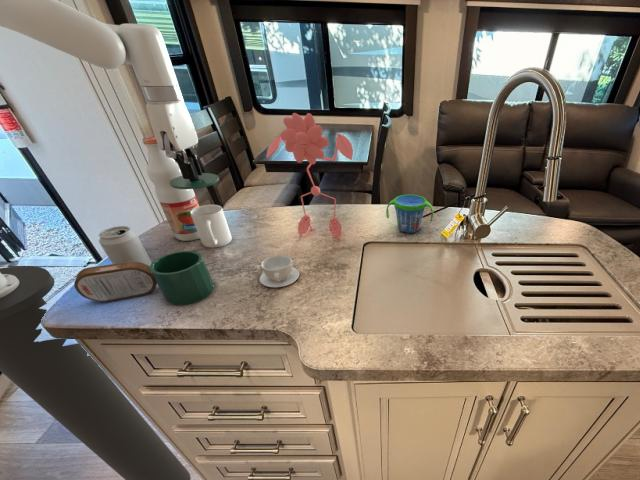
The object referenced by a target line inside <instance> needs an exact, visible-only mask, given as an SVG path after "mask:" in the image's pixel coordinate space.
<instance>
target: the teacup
mask: <svg viewBox="0 0 640 480" xmlns="http://www.w3.org/2000/svg"><path fill="white" fill-rule="evenodd" d="M260 267H261V269H262V271H263V272H262V273H261V274H260V276H259V282H260V284H262V285H263V286H266V287H268V288H281V287H286V286H289V285H291V284H293V283H294V282H296V281H297V280H298V279H299V278H300V271H299V270H298V269H297V268H296V267H293V261H292V259H291V257H289V256H287V255H283V254H276V255H272V256H269V257H266V258H265V259H262V261H261V263H260Z"/></svg>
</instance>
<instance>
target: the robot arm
mask: <svg viewBox="0 0 640 480" xmlns="http://www.w3.org/2000/svg"><path fill="white" fill-rule="evenodd" d="M0 27H2V28H4V29H8V30H11V31H14V32H17V33H19V34H22V35H23V36H26V37H29V38H31V39H33V40H36V41H38V42H39V43H42V44H45V45H47V46H49V47H51V48H54V49H55V50H58V51H61V52H62V53H65V54H67V55H70V56H72V57H75V58H77V59H79V60H82V61H84V62H86V63H88V64H91V65H93V66H95V67H97V68H101V69H105V70H115V69H119V68H120V67H121V66H128V65H129V66H130V65H131V67H132V70H133V72H134V74H135V77H136V79H137V82H138V85H139V87H140V90H141V92H142V95H143V97H144V100H145V102H146V103H145V107H146V112H147V116H148V119H149V123H150V126H151V129H152V132H153V136H155V138H156V141H157V143H158V146H159V148H160V149H161V150H163V151H165V153H166V156H167V157H170V158H173V159H174V160H175V162H176V163H178V166H179V168H180V171H181V174H182V176H183V178H184V179H196V175H195V172H194V169H193V167H192V164H191V163H189V160H188V158H187V157H192V159H193V162H194V165H195V167H196V170H197V173H198V175H202V173H203V170H202V167H201V165H200V162H199V156H198V153H197V151H198V150H197V149H198V147H199V137H198V133H197V130H196V128H195V125H194V122H193V119H192V117H191V114H190V112H189V110H188V108H187V106H186V103H185V100H184V97H183V94H182V90H181V87H180V84H179V81H178V78H177V76H176V72H175V69H174V67H173V64H172V60H171V58H170V55H169V51H168V49H167V45H166V43H165V40H164V37H163V35H162V33H161V31H160V30H159V28H157V26H154V25H152V24H146V23H121V24H112V23H106V22H102V21H100V20H98V19H96V18H94V17H92V16H90V15H88V14H86V13H84V12H82V11H81V10H78V9H76V8H74V7H72V6H70V5H68V4H66V3H64V2H62V1H60V0H0ZM18 285H19V280H18V279H17V278H16V277H15V276H13V275H9V274H1V273H0V298H2V297H4V296H6V295H8V294H9V293H11V292H12V291H14V290H15V289H16V288H17V287H18Z"/></svg>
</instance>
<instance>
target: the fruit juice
mask: <svg viewBox="0 0 640 480" xmlns="http://www.w3.org/2000/svg"><path fill="white" fill-rule="evenodd" d="M141 140H142V143H143V145H144V146H145V147H146V149H147V156H148V163H147V166H146V174H147V176H148V178H149V180H150V181H151V182H152V184H153V185H154V193H155V195H156V198H157V201H158V203H159V205H160V207H161V209H162V211H163V213H164V216H165V218H166V220H167V223H168V225H169V227H170V229H171V231H172V234H173V236H174V237H175V239H176V240H178V241H182V242H190V241H196V240H199V239H200V237H199V234H198V232H197V229H196V227H195V224H194V222H193V219H192V217H191V214H190V211H191V210H192V209H194V208H196V207H199V206H200V204H199V201H198V198H197V196H196V194H195V190H194V189H176V188H173V187H171V186H170V181H171V180H172V179H174V178H176V177H179V176H182V174H181V171H180V168H179V166H178V163H176V162H175V160H174V159H173V158H170V157H167V156H166V153H165V151H163V150H161V149H160V148H159V146H158V143H157V141H156V138H155V135H153V136H152V135H151V136H146V137H142V139H141Z"/></svg>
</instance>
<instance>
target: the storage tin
mask: <svg viewBox="0 0 640 480" xmlns="http://www.w3.org/2000/svg"><path fill="white" fill-rule="evenodd" d="M151 262H152V263H151V265H150V267H149V269H150V271H151V273H152V275H153V277H154V278H155V280H156V282H157V286H158V287H159V290H160V292H161V293H162V295H163V296H164V299H165V301H166V302H168V303H169V304H171V305H176V306H185V305H191V304H194V303H198V302H199V301H202V300H204V299H206V298H207V297H209V296H210V295H211V294H212V293H213V292H214V288H215V285H214V282H213V279H212V276H211V273H210V272H209V269H208V266H207V264H206V261H205V259H204V257H203V255H202V254H201V253H200V252H199V251H195V250H179V251H174V252H170V253H167V254H164V255H162V256H159V257H157V258H156V259H155V260H153V261H151Z"/></svg>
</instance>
